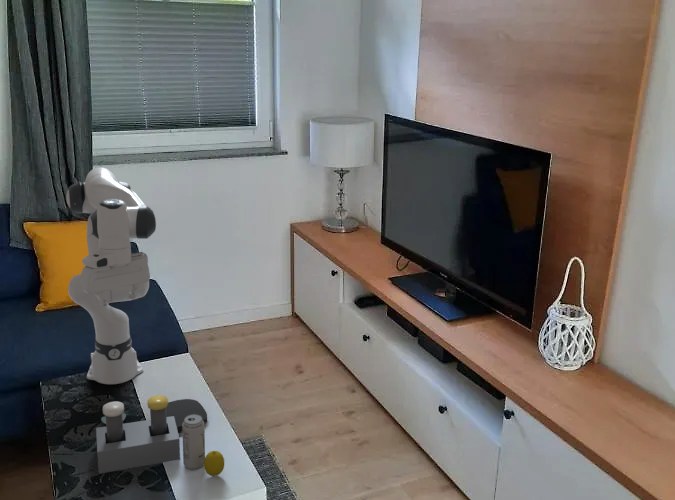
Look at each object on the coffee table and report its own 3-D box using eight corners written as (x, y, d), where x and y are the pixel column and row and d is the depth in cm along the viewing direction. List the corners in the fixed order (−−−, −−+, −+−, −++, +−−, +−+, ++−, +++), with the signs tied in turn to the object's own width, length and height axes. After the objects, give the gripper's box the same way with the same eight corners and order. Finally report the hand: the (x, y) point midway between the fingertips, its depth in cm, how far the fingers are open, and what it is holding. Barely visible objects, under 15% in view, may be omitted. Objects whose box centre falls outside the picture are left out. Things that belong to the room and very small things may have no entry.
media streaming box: (211, 425, 207) (210, 416, 206) (165, 437, 200) (164, 429, 199) (194, 402, 219) (194, 394, 218) (150, 414, 212) (150, 406, 211)
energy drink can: (205, 470, 186) (204, 424, 181) (183, 472, 184) (181, 425, 180) (205, 457, 191) (204, 412, 186) (183, 458, 190) (182, 413, 185)
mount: (97, 448, 193) (96, 427, 190) (174, 436, 200) (173, 416, 198) (98, 473, 182) (97, 452, 180) (180, 459, 190) (179, 438, 187)
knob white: (104, 437, 189) (102, 403, 185) (125, 434, 191) (123, 400, 187) (105, 449, 184) (103, 413, 180) (126, 445, 186) (124, 410, 182)
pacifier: (99, 420, 207) (103, 429, 202) (98, 402, 205) (101, 411, 200) (123, 414, 210) (127, 423, 205) (122, 397, 209) (126, 406, 204)
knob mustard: (148, 431, 193) (146, 396, 189) (167, 428, 195) (166, 394, 191) (150, 441, 188) (148, 407, 185) (170, 438, 190) (169, 404, 186)
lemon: (205, 469, 186) (204, 445, 183) (225, 469, 186) (225, 445, 184) (203, 482, 181) (202, 457, 178) (223, 482, 181) (223, 457, 179)
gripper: (141, 249, 201) (143, 293, 203) (76, 260, 186) (80, 307, 189) (152, 252, 196) (155, 297, 199) (87, 263, 182) (91, 311, 185)
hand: (118, 302), depth 194 cm, fingers open, 8 cm apart
